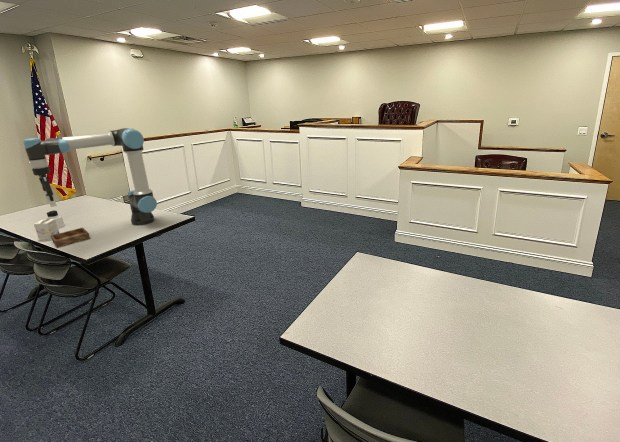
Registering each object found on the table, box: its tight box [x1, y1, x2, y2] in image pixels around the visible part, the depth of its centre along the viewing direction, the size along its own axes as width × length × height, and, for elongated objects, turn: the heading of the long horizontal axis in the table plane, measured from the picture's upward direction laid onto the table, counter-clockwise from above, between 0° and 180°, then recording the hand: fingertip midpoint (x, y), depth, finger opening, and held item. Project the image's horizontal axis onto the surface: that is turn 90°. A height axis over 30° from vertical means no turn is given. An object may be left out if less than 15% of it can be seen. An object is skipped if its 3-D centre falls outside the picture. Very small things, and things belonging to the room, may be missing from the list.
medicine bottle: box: [46, 210, 65, 229], centre depth 243 cm, size 7×7×12 cm
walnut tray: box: [50, 227, 91, 249], centre depth 220 cm, size 18×15×4 cm
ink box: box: [33, 216, 60, 242], centre depth 223 cm, size 9×8×13 cm
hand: (51, 204), depth 198 cm, fingers open, 13 cm apart
